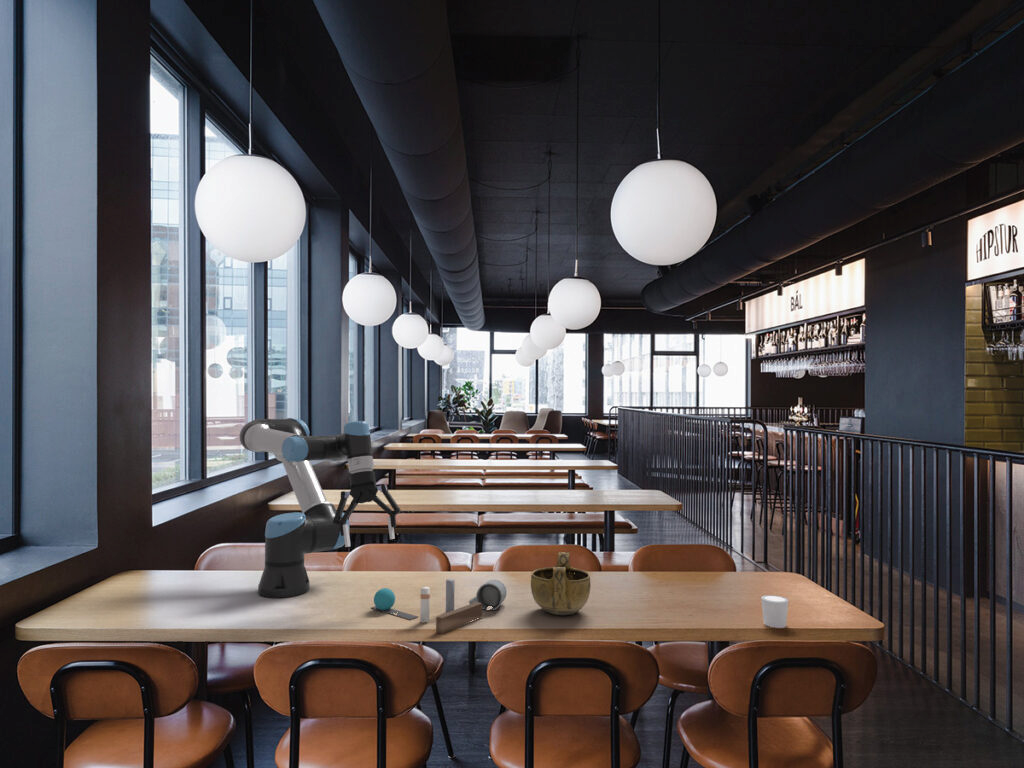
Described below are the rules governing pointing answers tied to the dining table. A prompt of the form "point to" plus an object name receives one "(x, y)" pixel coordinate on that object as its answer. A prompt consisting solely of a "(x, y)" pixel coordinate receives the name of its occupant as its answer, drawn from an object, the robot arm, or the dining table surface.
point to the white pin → (424, 604)
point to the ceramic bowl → (560, 587)
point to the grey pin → (450, 594)
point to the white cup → (774, 610)
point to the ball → (384, 599)
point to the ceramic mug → (490, 594)
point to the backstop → (458, 617)
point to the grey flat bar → (398, 613)
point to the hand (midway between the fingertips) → (370, 543)
